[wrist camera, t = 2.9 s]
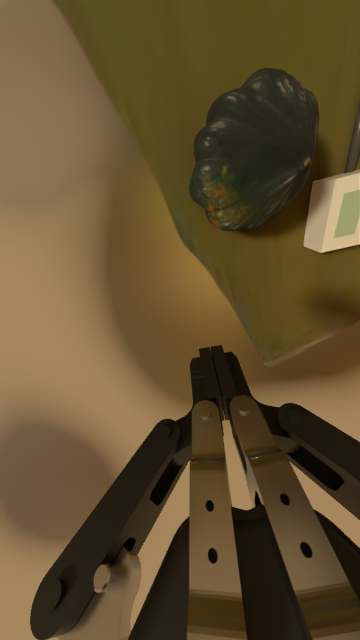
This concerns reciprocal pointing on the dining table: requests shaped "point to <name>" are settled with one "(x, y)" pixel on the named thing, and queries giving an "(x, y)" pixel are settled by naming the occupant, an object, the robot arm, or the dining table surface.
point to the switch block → (336, 205)
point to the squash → (255, 150)
